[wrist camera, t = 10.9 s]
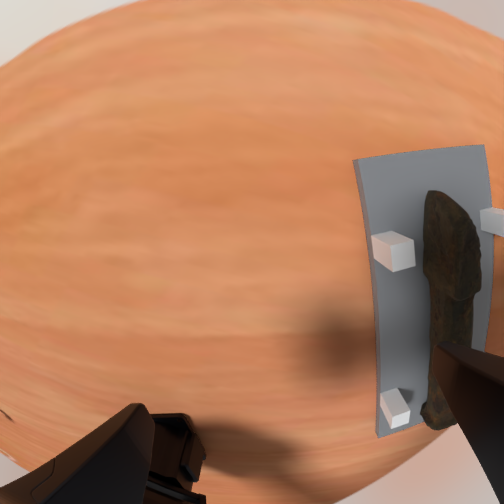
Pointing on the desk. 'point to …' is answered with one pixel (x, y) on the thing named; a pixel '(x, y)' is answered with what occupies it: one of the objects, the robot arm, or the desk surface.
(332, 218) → the desk surface
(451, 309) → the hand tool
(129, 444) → the robot arm
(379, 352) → the plate
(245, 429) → the desk surface
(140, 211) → the desk surface
